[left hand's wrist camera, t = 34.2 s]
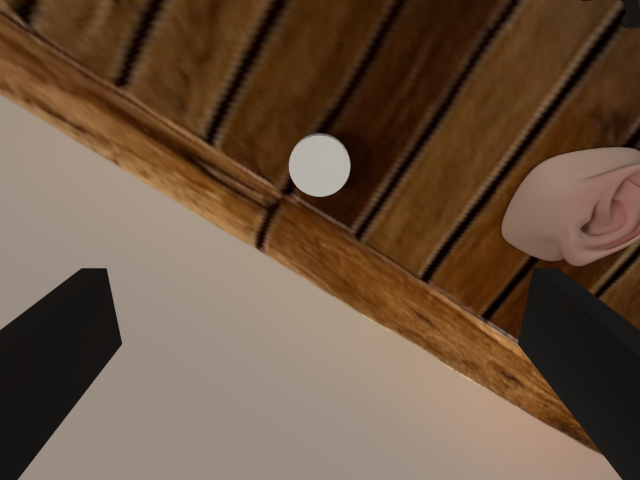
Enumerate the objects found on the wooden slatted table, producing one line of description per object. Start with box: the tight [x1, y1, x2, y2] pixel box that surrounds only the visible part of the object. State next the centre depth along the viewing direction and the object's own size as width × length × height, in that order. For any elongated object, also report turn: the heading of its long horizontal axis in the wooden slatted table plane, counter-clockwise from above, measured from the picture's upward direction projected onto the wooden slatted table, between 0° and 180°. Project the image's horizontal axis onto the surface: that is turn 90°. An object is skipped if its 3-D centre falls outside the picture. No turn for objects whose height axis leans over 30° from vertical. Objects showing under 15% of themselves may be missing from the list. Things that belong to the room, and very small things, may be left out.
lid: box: [289, 133, 350, 197], centre depth 37 cm, size 6×6×2 cm
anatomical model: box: [501, 147, 640, 266], centre depth 37 cm, size 13×4×12 cm
